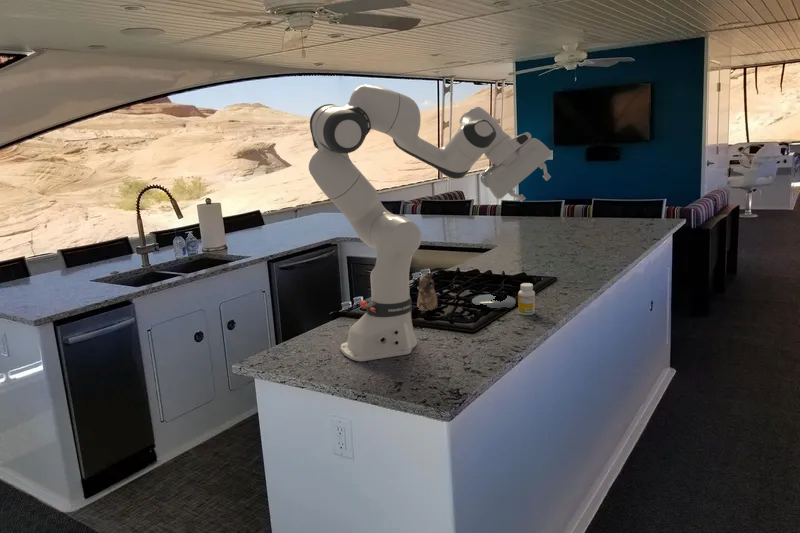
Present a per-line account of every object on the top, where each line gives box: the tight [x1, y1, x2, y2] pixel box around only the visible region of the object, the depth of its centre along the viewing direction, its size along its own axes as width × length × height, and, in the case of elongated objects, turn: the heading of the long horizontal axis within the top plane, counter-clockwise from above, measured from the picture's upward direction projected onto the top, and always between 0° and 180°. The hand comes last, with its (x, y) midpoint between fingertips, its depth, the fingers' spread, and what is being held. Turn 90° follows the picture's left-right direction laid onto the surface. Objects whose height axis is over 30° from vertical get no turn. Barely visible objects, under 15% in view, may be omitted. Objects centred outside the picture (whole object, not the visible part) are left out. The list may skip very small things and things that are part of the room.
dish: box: [471, 293, 517, 309], centre depth 215 cm, size 15×15×1 cm
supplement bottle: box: [517, 282, 536, 316], centre depth 203 cm, size 5×5×10 cm
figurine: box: [416, 272, 438, 312], centre depth 213 cm, size 7×7×12 cm
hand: (536, 189), depth 178 cm, fingers open, 8 cm apart
